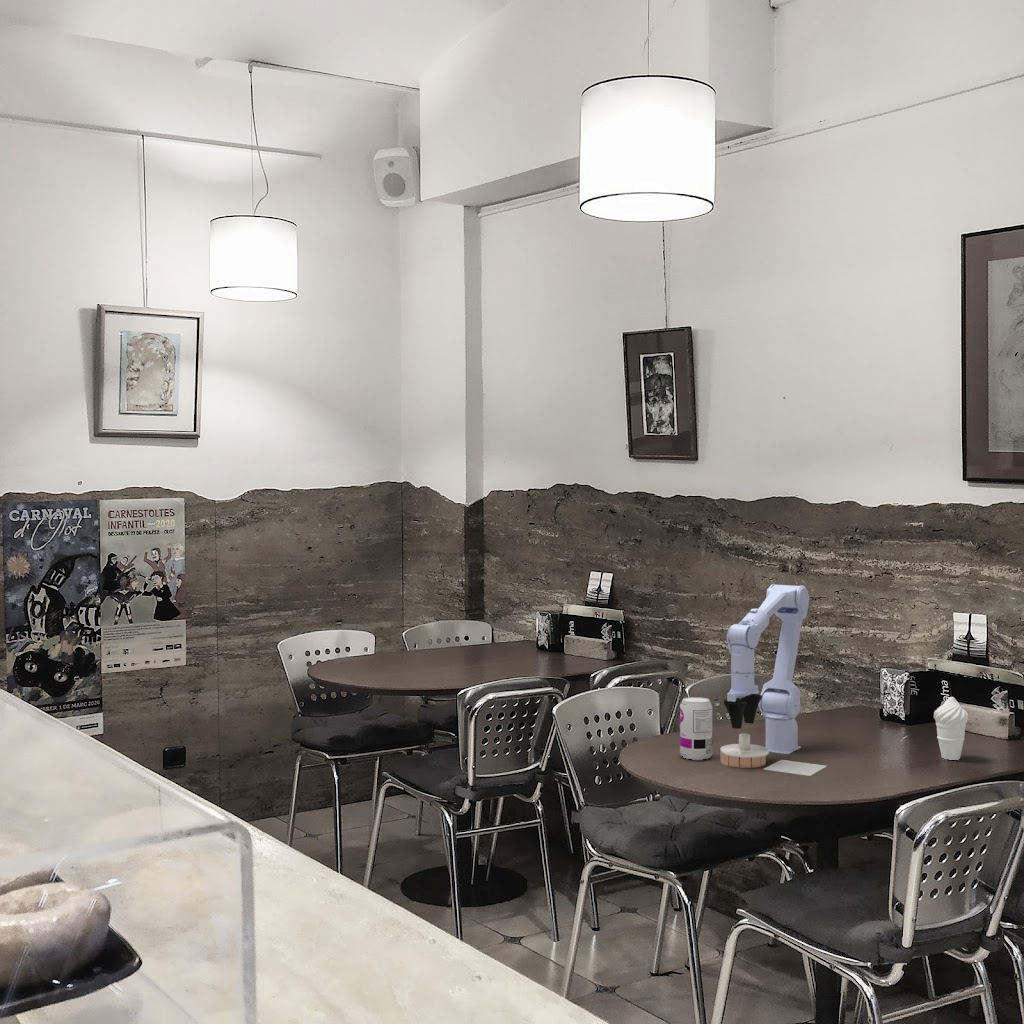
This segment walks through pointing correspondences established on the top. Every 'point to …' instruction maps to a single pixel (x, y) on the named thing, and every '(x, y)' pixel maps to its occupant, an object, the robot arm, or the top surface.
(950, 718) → the soft serve ice cream cone
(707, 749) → the supplement can
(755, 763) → the bowl
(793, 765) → the mat
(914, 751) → the top surface
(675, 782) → the top surface
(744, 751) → the lid
